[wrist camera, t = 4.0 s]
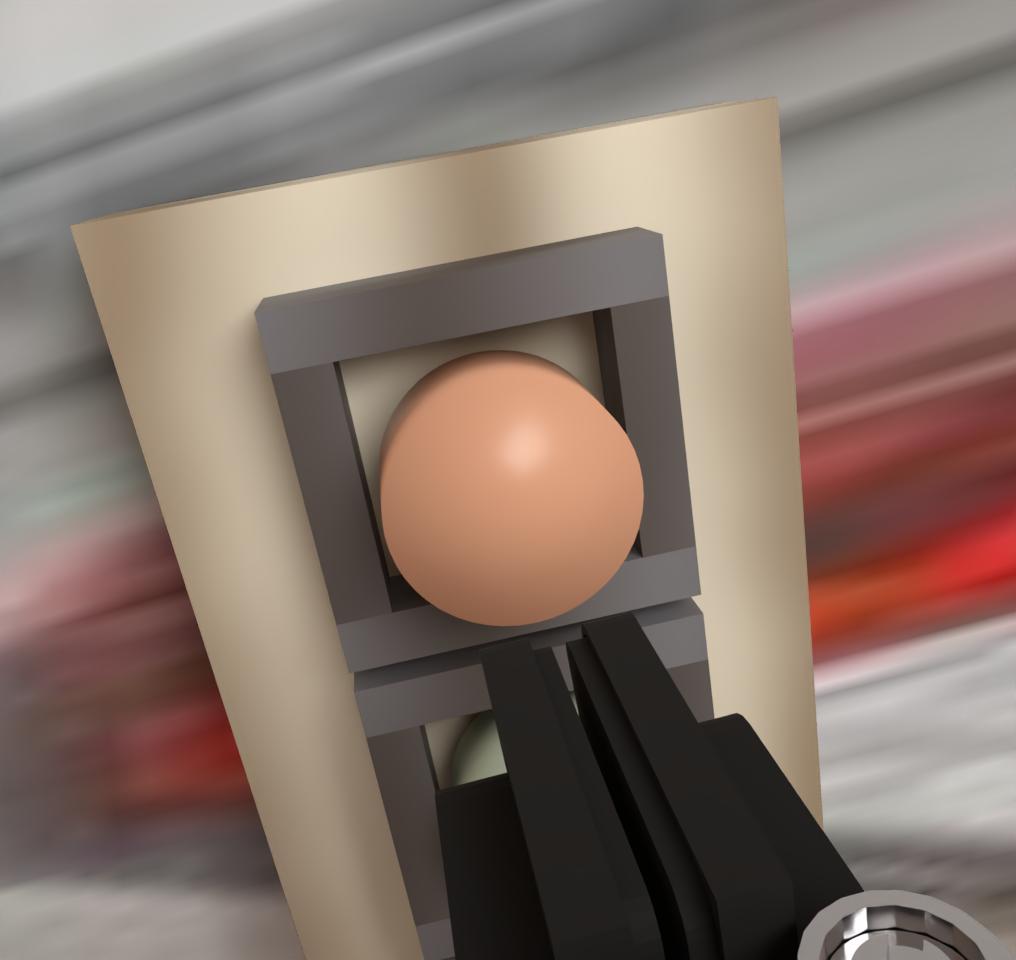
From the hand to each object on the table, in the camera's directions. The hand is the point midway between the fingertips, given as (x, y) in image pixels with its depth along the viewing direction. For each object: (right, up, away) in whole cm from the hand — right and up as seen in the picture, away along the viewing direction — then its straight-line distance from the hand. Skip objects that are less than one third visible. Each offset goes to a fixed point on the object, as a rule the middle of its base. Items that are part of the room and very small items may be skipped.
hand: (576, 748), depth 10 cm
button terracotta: (-1, +3, +6) cm, 7 cm away
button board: (0, -2, +13) cm, 13 cm away
